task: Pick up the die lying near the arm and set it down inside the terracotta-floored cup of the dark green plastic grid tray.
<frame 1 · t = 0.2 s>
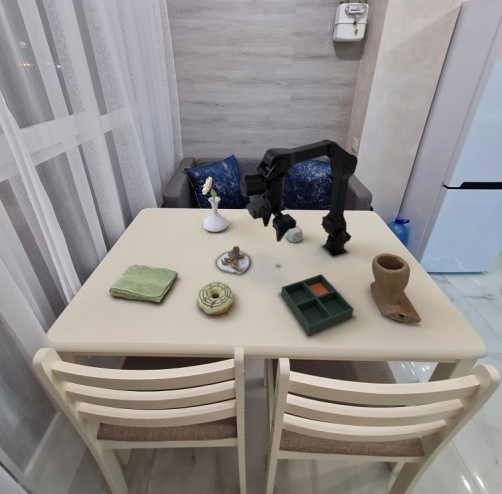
hand: (271, 233, 87), 15 cm above the table, tool pointing down, fingers open, 9 cm apart
decorated donut: (215, 302, 79), on the table
grid: (314, 305, 78), on the table
washcloth: (145, 285, 85), on the table
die: (294, 239, 109), on the table
stone cup: (387, 303, 80), on the table
flower in vase: (215, 228, 115), on the table
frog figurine: (233, 262, 95), on the table
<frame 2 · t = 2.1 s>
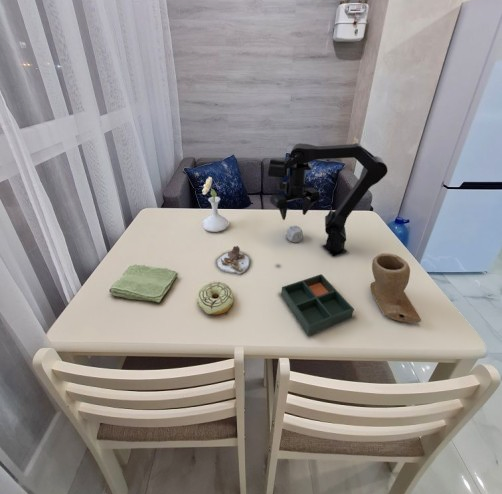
hand: (293, 216, 101), 12 cm above the table, tool pointing down, fingers open, 9 cm apart
nothing on the table moved.
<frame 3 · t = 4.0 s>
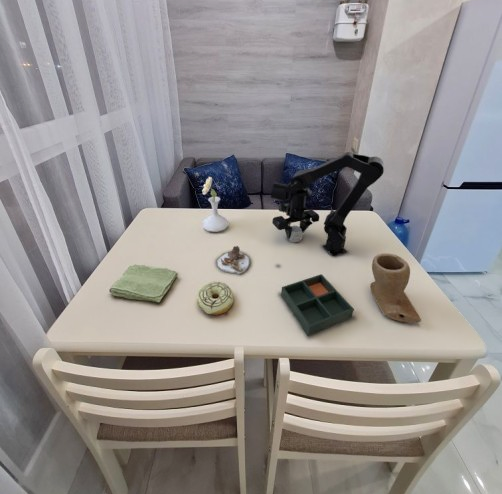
hand: (294, 236, 108), 1 cm above the table, tool pointing down, fingers closed on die, 5 cm apart
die: (294, 239, 109), on the table, touching gripper
everything else where it was.
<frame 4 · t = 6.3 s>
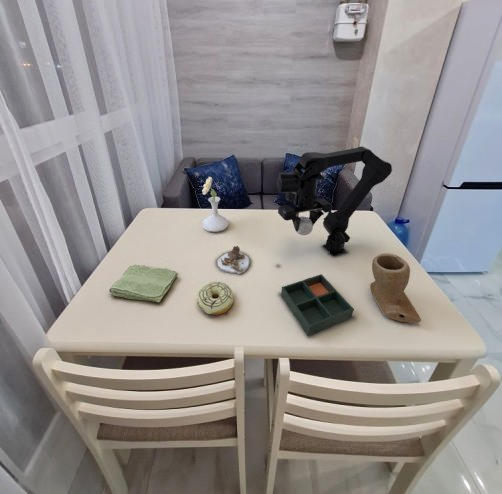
hand: (303, 229, 96), 11 cm above the table, tool pointing down, fingers closed on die, 5 cm apart
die: (302, 231, 96), point 10 cm above the table, touching gripper
everything else where it was.
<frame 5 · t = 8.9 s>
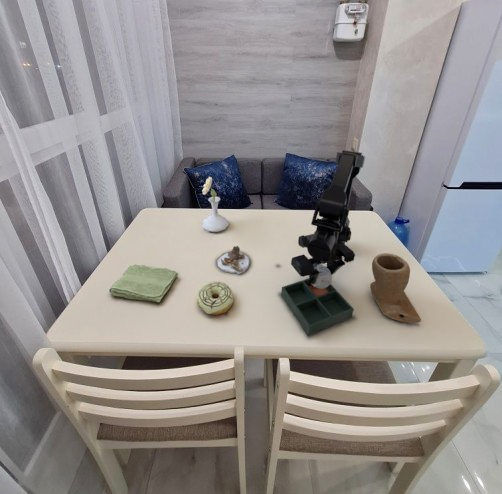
hand: (319, 280, 80), 5 cm above the table, tool pointing down, fingers closed on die, 5 cm apart
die: (319, 283, 81), point 4 cm above the table, touching gripper
everything else where it was.
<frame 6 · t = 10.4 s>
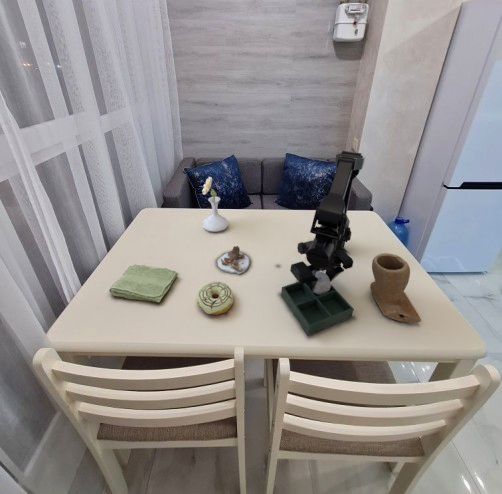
hand: (318, 286, 81), 3 cm above the table, tool pointing down, fingers closed on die, 5 cm apart
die: (318, 289, 82), point 2 cm above the table, touching gripper
everything else where it was.
when the fingers open (3 cm above the table, at t = 13.6 s): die drops 2 cm, resting on grid.
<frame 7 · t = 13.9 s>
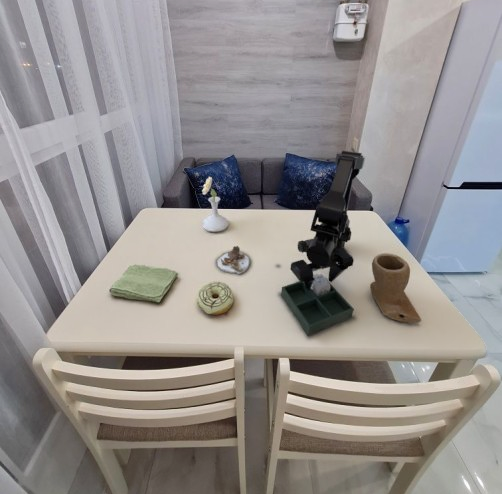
hand: (318, 285, 81), 4 cm above the table, tool pointing down, fingers open, 8 cm apart
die: (317, 292, 82), resting on grid
everything else where it was.
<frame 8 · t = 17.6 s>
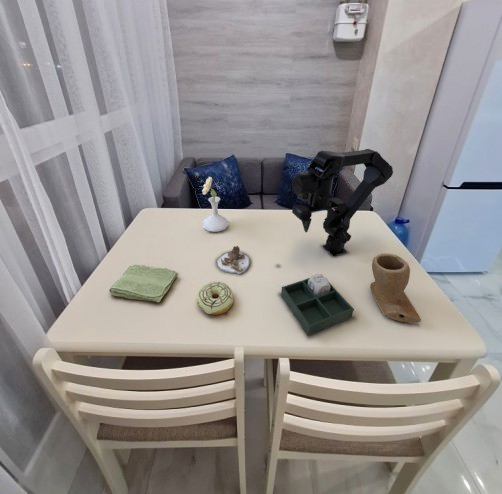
hand: (316, 229, 94), 12 cm above the table, tool pointing down, fingers open, 9 cm apart
nothing on the table moved.
at the end: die 0.1 cm from the target spot in the grid, point 0.4 cm above the grid's base; the gripper is holding nothing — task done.
